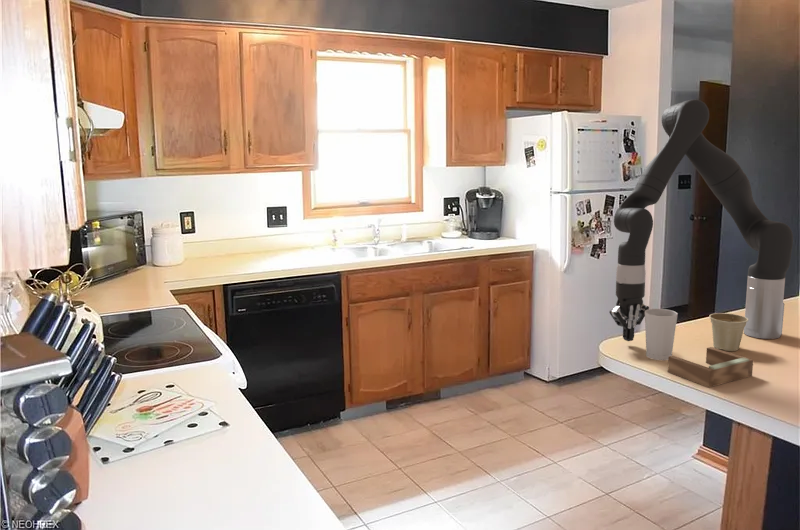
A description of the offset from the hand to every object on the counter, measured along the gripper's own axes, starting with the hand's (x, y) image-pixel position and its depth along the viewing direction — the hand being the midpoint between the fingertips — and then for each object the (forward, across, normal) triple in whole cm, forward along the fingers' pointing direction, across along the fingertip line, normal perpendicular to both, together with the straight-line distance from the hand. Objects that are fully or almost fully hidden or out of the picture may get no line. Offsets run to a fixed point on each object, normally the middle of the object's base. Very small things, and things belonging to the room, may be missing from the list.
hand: (628, 340), depth 172 cm
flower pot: (+2, -21, +15) cm, 26 cm away
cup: (+2, 0, +11) cm, 11 cm away
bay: (+2, 0, +26) cm, 26 cm away
